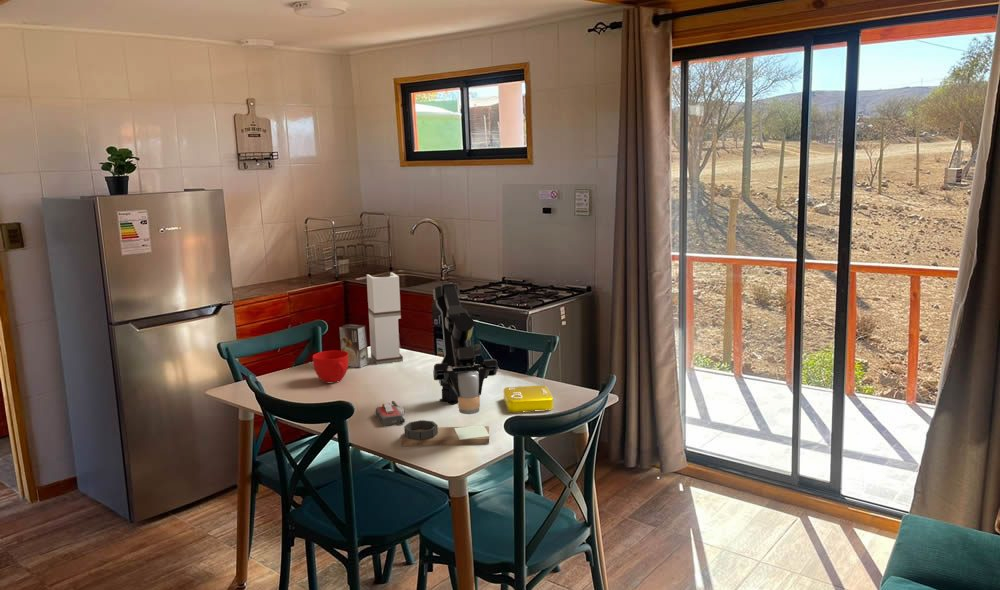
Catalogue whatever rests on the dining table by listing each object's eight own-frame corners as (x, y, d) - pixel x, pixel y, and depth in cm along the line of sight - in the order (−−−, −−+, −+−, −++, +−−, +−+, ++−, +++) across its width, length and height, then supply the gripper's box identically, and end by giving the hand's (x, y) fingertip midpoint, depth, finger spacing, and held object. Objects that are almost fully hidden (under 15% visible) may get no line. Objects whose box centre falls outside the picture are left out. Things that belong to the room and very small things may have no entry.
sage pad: (454, 428, 219) (454, 428, 219) (483, 425, 221) (483, 425, 221) (459, 439, 211) (459, 439, 211) (490, 436, 213) (490, 435, 213)
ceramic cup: (327, 391, 263) (325, 364, 261) (308, 380, 276) (307, 354, 274) (360, 383, 270) (358, 357, 268) (341, 373, 284) (339, 348, 282)
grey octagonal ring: (422, 425, 223) (421, 417, 222) (444, 433, 216) (444, 424, 216) (397, 435, 216) (397, 426, 215) (420, 442, 209) (419, 434, 209)
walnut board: (402, 445, 211) (402, 441, 211) (406, 433, 221) (405, 428, 221) (489, 443, 212) (489, 438, 211) (489, 430, 221) (488, 426, 221)
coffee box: (369, 363, 296) (367, 325, 293) (360, 368, 290) (358, 328, 287) (350, 361, 300) (348, 323, 297) (341, 366, 294) (338, 326, 291)
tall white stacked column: (402, 361, 299) (398, 276, 292) (377, 364, 295) (372, 278, 288) (396, 354, 309) (392, 272, 302) (371, 357, 305) (366, 274, 299)
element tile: (554, 411, 238) (554, 397, 237) (508, 414, 236) (508, 400, 235) (546, 397, 252) (546, 383, 252) (503, 399, 251) (502, 386, 250)
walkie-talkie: (411, 424, 229) (396, 405, 247) (410, 411, 228) (395, 392, 246) (383, 429, 226) (370, 408, 244) (382, 415, 225) (369, 396, 243)
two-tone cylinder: (462, 406, 219) (461, 370, 216) (482, 407, 217) (481, 372, 215) (455, 413, 213) (454, 376, 211) (475, 415, 211) (474, 378, 209)
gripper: (432, 337, 212) (439, 385, 204) (496, 332, 216) (504, 379, 208) (430, 356, 222) (436, 403, 213) (491, 351, 225) (499, 397, 217)
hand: (469, 395), depth 212 cm, fingers closed on two-tone cylinder, 6 cm apart
